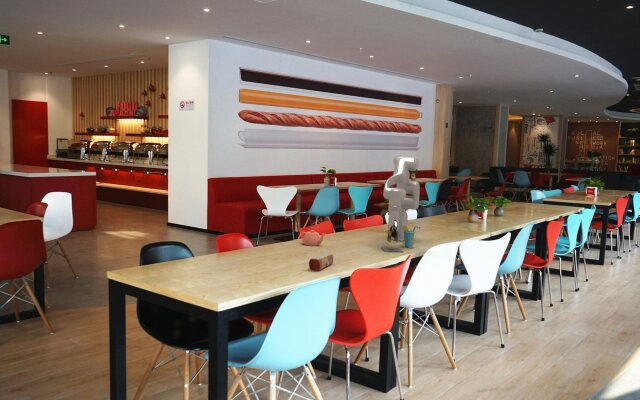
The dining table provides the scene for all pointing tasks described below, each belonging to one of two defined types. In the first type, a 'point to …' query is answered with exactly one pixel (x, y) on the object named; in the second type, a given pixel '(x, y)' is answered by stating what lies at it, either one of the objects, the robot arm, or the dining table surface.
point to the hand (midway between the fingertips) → (392, 236)
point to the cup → (408, 236)
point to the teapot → (312, 238)
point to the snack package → (321, 261)
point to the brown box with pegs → (390, 236)
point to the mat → (391, 249)
